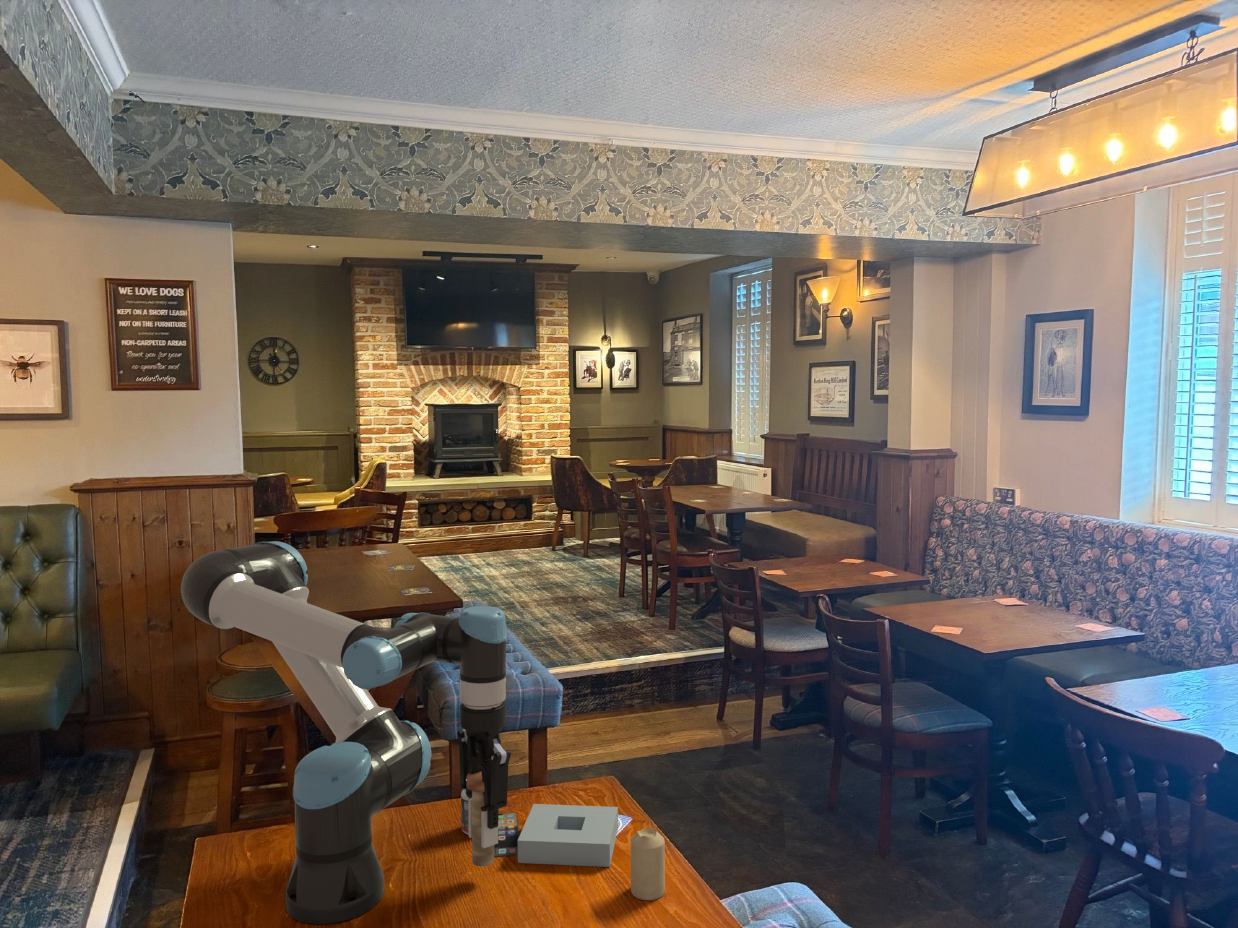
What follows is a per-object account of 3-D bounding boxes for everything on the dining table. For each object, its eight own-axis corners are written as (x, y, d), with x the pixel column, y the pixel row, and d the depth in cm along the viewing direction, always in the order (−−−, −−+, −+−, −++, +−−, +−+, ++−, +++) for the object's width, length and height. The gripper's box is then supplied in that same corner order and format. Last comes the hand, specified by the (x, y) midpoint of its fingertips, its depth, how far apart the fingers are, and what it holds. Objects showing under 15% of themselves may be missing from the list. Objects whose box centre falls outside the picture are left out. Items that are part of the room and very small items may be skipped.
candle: (662, 902, 137) (661, 841, 136) (628, 898, 138) (627, 838, 137) (667, 883, 142) (666, 824, 141) (634, 880, 143) (633, 822, 143)
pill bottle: (468, 821, 165) (467, 770, 164) (496, 823, 163) (495, 772, 163) (456, 835, 159) (456, 782, 158) (486, 837, 158) (485, 784, 157)
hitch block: (518, 862, 149) (517, 840, 149) (533, 824, 163) (533, 803, 163) (609, 866, 148) (609, 843, 147) (618, 827, 161) (617, 806, 161)
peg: (462, 867, 141) (462, 781, 140) (471, 851, 147) (471, 768, 146) (495, 870, 141) (495, 783, 140) (502, 853, 146) (502, 769, 145)
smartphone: (474, 861, 151) (474, 854, 151) (475, 821, 165) (475, 814, 165) (520, 857, 152) (520, 850, 152) (517, 817, 167) (517, 811, 167)
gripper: (530, 710, 138) (529, 852, 139) (477, 684, 151) (477, 814, 152) (489, 721, 133) (489, 867, 135) (438, 693, 146) (439, 827, 147)
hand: (483, 839), depth 143 cm, fingers closed on peg, 3 cm apart
